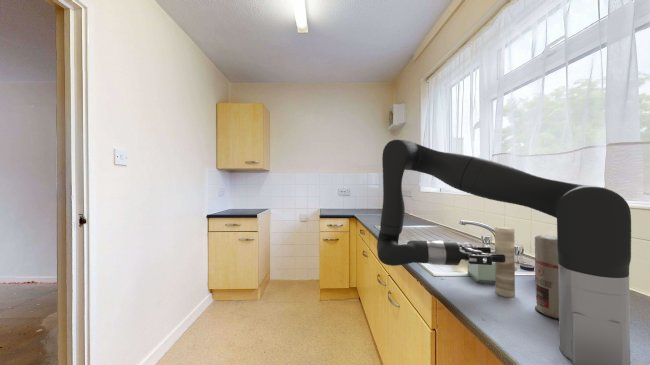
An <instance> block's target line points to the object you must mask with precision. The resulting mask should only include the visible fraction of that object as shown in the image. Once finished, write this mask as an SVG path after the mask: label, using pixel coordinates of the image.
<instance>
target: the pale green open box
mask: <svg viewBox="0 0 650 365" xmlns="http://www.w3.org/2000/svg"><path fill="white" fill-rule="evenodd" d="M483 259H484V260H486V258H483ZM468 273H469V274H470V275H469V274H468ZM467 274H468V275H469V276H470V277H471V278H472V279H473V280H475V281H476V282H477V283H479V284H494V285H495V262H492V265H481V264H469V262H468V261H467Z"/></svg>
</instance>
